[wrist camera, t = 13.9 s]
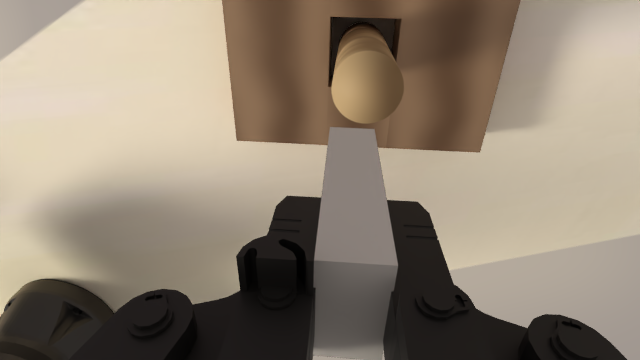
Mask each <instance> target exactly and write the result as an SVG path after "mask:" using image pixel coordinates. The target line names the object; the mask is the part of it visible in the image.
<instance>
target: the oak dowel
mask: <svg viewBox="0 0 640 360" xmlns="http://www.w3.org/2000/svg"><path fill="white" fill-rule="evenodd" d="M331 90H332V98H333V101H334V104H335V106H336V107H337V109H338V110H339V111H340V113H341V114H342V115H344V116H345V117H346V118H348V119H350V120H351V121H354V122H357V123H363V124H369V123H375V122H378V121H381V120H383V119H385V118H387V117H388V116H389V115H391V114H392V113H393V112H394V111H395V110H396V108H397V107H398V105H399V104H400V102H401V99H402V96H403V92H404V81H403V76H402V73H401V71H400V69H399V67H398V65H397V63H396V61H395V59H394V57H393V55H392V53H391V51H390V49H389V47H388V45H387V43H386V42H385V40H384V38H383V36H382V34H381V32H380V30H379V29H378V28H377V27H376V26H374V25H373V24H371V23H368V22H357V23H354V24H352V25H350V26H349V27H348V28H347V29H346V30H345V31H344V32H343V34H342V36H341V38H340V42H339V47H338V53H337V58H336V64H335V69H334V75H333V80H332V88H331Z"/></svg>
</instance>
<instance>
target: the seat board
mask: <svg viewBox="0 0 640 360" xmlns="http://www.w3.org/2000/svg"><path fill="white" fill-rule="evenodd" d="M222 4H223V13H224V23H225V33H226V42H227V52H228V61H229V71H230V80H231V90H232V99H233V109H234V118H235V128H236V138H237V141H256V142H277V143H297V144H318V145H328V139H329V131H330V127H341V128H362V129H375V135H376V141H377V147H379V148H400V149H420V150H441V151H461V152H480V150H481V146H482V142H483V139H484V135H485V131H486V127H487V124H488V120H489V116H490V112H491V109H492V105H493V101H494V97H495V94H496V90H497V86H498V82H499V79H500V75H501V71H502V67H503V64H504V60H505V56H506V52H507V49H508V45H509V41H510V37H511V34H512V30H513V26H514V22H515V19H516V15H517V11H518V7H519V4H520V0H222ZM332 17H361V18H395V27H394V36H393V44H392V55H393V57H394V59H395V61H396V63H397V65H398V67H399V69H400V71H401V73H402V76H403V81H404V92H403V96H402V99H401V102H400V104H399V105H398V107H397V108H396V110H395V111H394V112H393V113H392V114H391V115H389V116H388V117H387V118H385V119H383V120H381V121H378V122H375V123H369V124H363V123H357V122H354V121H351V120H350V119H348V118H346V117H345V116H344V115H342V114H341V113H340V111H339V110H338V109H337V107H336V106H335V104H334V101H333V98H332V90H331V88H332V80H333V76H332V75H331V46H332Z"/></svg>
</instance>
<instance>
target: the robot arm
mask: <svg viewBox="0 0 640 360" xmlns="http://www.w3.org/2000/svg"><path fill="white" fill-rule="evenodd" d="M236 258H237V266H238V274H239V282H240V291H239V292H237V293H235V294H233V295H231V296H229V297H226V298H222V299H219V300H214V301H209V302H204V303H199V304H194V305H192V303H191V302H190V300H189V298H188V297H187V296H186V295H184V294H183V293H181V292H179V291H177V290H168V289H160V290H155V291H150V292H146V293H144V294H142V295H140V296H137V297H135V298H133V299H131V300H130V301H129V302H128V303H126V304H125V305H124V306H122V307H121V308H120V309H119V310H118V311H117V312H116V313H115V314H113V312H112V311H111V310H110V309H109V307H108V306H107V305H106V304H105V303H104V302H102V301H101V300H100V299H99V298H97V297H96V296H94V295H93V294H91V293H90V292H88V291H86V290H84V289H82V288H80V287H77V286H75V285H72V284H69V283H65V282H61V281H55V280H37V281H33V282H30V283H28V284H26V285H24V286H23V287H22V288H21V289H20V290H19V291H18V292H17V293H16V294H15V295H13V296H12V297H11V299H10V300H9V301H8V303H7V304H6V306H5V309H4V312H3V314H2V315H1V317H0V360H312V359H313V356H325V357H337V358H350V359H363V360H382V355H383V350H384V357H385V360H627V359H626V358H625V357H624V356H623V355H622V354H621V353H620V352H619V351H618V350H617V349H616V348H615V347H614V346H613V345H612V344H611V343H610V342H609V341H608V340H607V339H606V338H604V337H603V336H602V335H601V334H599V333H598V332H597V331H596V330H594V329H593V328H591V327H589V326H587V325H585V324H583V323H582V322H580V321H578V320H575V319H572V318H568V317H565V316H562V315H548V314H545V315H542V316H539V317H537V318H535V319H533V321H532V322H531V324H530V325H529V327H528V328H525V327H522V326H518V325H516V324H513V323H510V322H506V321H503V320H500V319H497V318H494V317H492V316H490V315H487V314H484V313H483V312H481V311H479V310H478V309H476V308H475V306H474V304H473V303H472V301H471V299H470V298H469V296H468V295H467V294H466V293H464V292H463V291H462V290H460V288H458V287H457V286H456V285H454V284H453V281H452V278H451V276H450V273H449V270H448V267H447V264H446V261H445V258H444V255H443V252H442V249H441V246H440V243H439V240H437V235H436V232H435V229H434V226H433V223H432V220H431V217H430V214H429V213H428V212H427V211H426V210H425V209H424V208H423V207H422V206H421V205H420V204H419V203H418V202H411V201H394V200H387V198H386V193H385V187H384V181H383V175H382V170H381V164H380V158H379V152H378V147H377V141H376V135H375V129H362V128H341V127H330V131H329V139H328V148H327V156H326V164H325V173H324V181H323V189H322V198H317V197H299V196H286V197H285V198H284V199H283V200H282V201H281V202H280V203H279V204H278V205H277V206H276V209H275V212H274V215H273V220H272V222H271V225H270V228H269V231H268V234H267V235H266V236H263V237H260V238H257V239H254V240H252V241H251V242H249V243H248V244H246V245H245V246H243V247H242V249H241V250H240V252H239V253H238V255H237V256H236Z"/></svg>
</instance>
